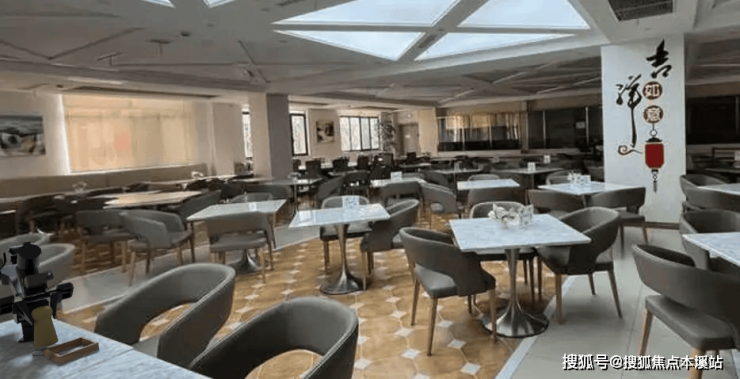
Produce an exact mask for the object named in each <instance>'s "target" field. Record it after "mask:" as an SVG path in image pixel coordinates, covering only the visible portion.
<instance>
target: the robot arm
mask: <svg viewBox="0 0 740 379" xmlns="http://www.w3.org/2000/svg"><path fill="white" fill-rule="evenodd" d="M0 254H1V256H0V284H1V285H2V286H6V287H9V288H10V289H11V291H12V294H10V295H5V296H0V316H4V315H8V314H11V313H12V317H13V321H14V323H16V324H17V325H19V324H20V326H21V334H22V337H21V338H20V339H18V341H17V342H18V343H23V342H31V341H34V320H33V318H32V316H31V313H32V311H33V310H34V309H36V308H38V307H42V306H49V307H51V308H52V310H53V314H52V316H51V317H52V318H53V320H56V318H57V307H58V304H60V303H62V301H63V300H68V299H71V298H72V297H73V294H74V289H75V287H74V283H72V282H71V281H65V282H62V283H57V284H56V286H55V289H51V290H47V289H48V287H49V285H48V282H53V280H54V279H55V278H54V277H55V276H54V273H53V270H52V269H51V268H50V269H45V270H44V271H43V272H41V271H40V267H39V266H40V265H41V257H42V254H43V253H42V248H41V247H40V246H39V245H38V244H34V243H32V242H31V241H23V242H22V244H19V245H14V246H13V245H12V246H9V247H7V250H3V251H1V253H0ZM7 263H9V264H8V265H6V264H7ZM48 299H50V300H48Z"/></svg>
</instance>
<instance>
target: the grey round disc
mask: <svg viewBox="0 0 740 379" xmlns="http://www.w3.org/2000/svg"><path fill="white" fill-rule="evenodd" d="M59 344H60V343H55V344H53V345H51V346H48V347H43V348H35V349H34V350H33V351H32V355H33V356H37V357H38V356H39V357H40V356H45V353H44V350H45V349H47V348H50V347H53V346H56V345H59Z"/></svg>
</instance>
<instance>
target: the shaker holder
mask: <svg viewBox="0 0 740 379" xmlns="http://www.w3.org/2000/svg"><path fill="white" fill-rule="evenodd" d="M58 344H59V345H56V346H53V347H50V348H47V349H45V350H44V353H45V355H44V356H45V357H46V358H47V359H50V360H52V361H54V362H56V363H57V364H60V365H61V364H64V363H66V362H70V361H72V360H74V359H77V358H80V357H82V356H85V355H87V354H90V353H93V352H96V351H98V350H100V344H99V342H98V341H96V340H93V339H90V338H89V337H86V336H79V337H76V338H73V339H71V340H67V341H65V342H62V343H58ZM80 345H84V346H83V347H81V348H77V349H75V350H73V351H70V352H67V353H63V354H59V353H60V352H64V351H66V350H69V349H72V348H74V347H77V346H80Z"/></svg>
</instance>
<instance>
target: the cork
mask: <svg viewBox="0 0 740 379" xmlns="http://www.w3.org/2000/svg"><path fill="white" fill-rule="evenodd" d="M52 314H53V310H52V308H51V307H50V305H49V306H42V307H38V308H36V309H34V310H33V311H32V313H31V316H32V318H33V320H34V340H33V347H34V348H35V349H38V348H43V347H48V346H51V345H53V344H58V342H59V338H58V335H57V331H56V328H55V325H54V322H53V319H52V318H53V316H52Z"/></svg>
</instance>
